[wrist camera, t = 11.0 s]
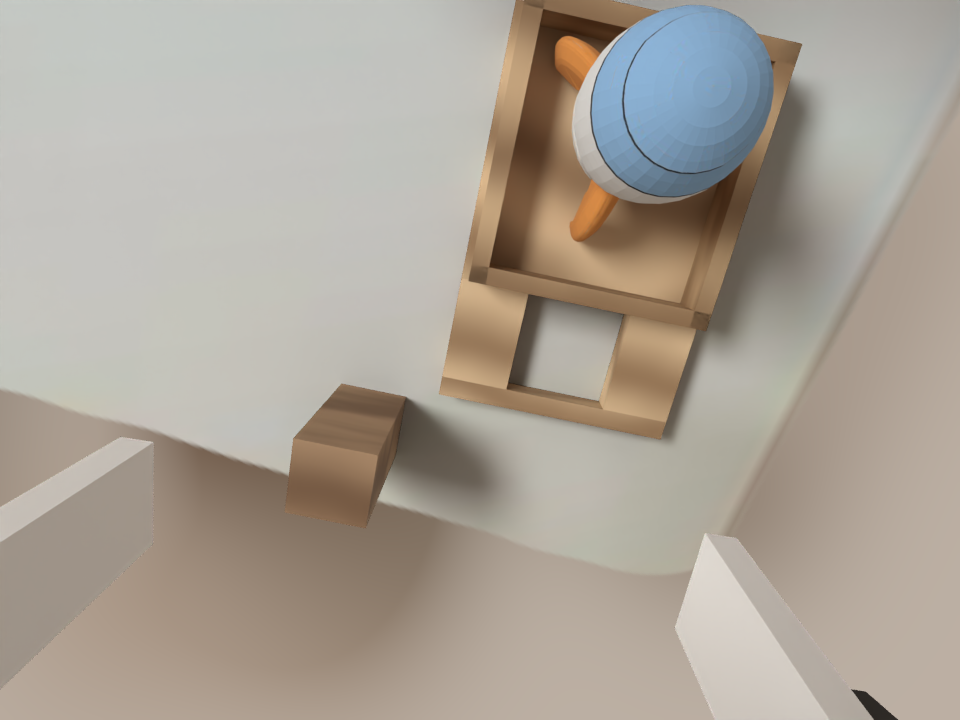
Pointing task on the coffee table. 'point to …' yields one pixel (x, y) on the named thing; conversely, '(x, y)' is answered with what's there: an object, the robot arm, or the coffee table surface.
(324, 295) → the coffee table surface
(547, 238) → the tray
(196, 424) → the coffee table surface
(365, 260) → the coffee table surface
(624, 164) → the toy rocket
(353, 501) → the block
